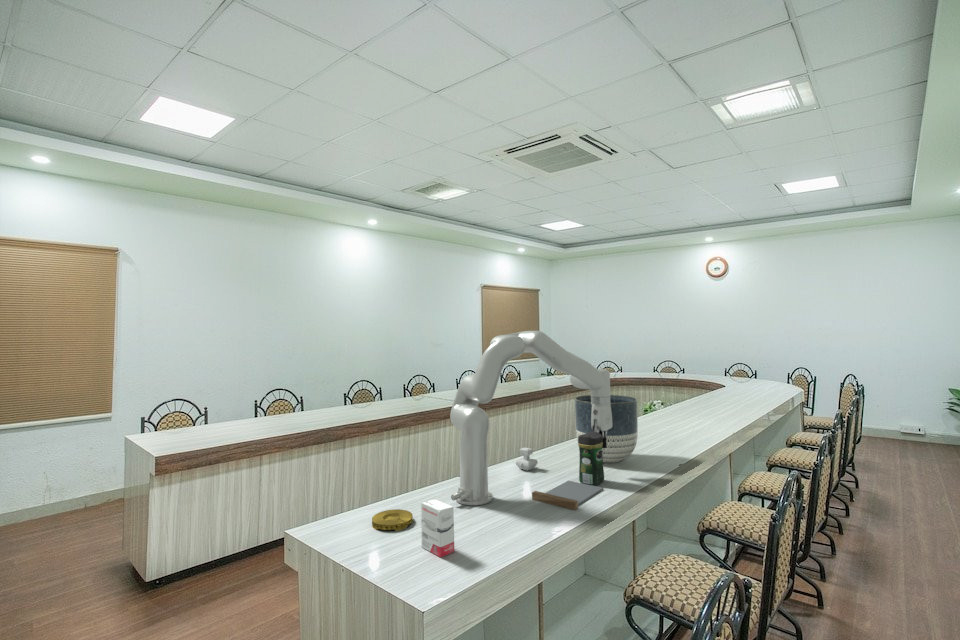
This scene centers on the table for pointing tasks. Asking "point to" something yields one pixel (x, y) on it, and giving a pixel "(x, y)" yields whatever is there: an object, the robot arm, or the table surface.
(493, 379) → the robot arm
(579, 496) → the mat
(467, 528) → the table surface
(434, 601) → the table surface
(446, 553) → the ink box
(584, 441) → the coffee jar
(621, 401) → the planter
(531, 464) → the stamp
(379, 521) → the golden flat disc
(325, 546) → the table surface
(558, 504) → the rail
